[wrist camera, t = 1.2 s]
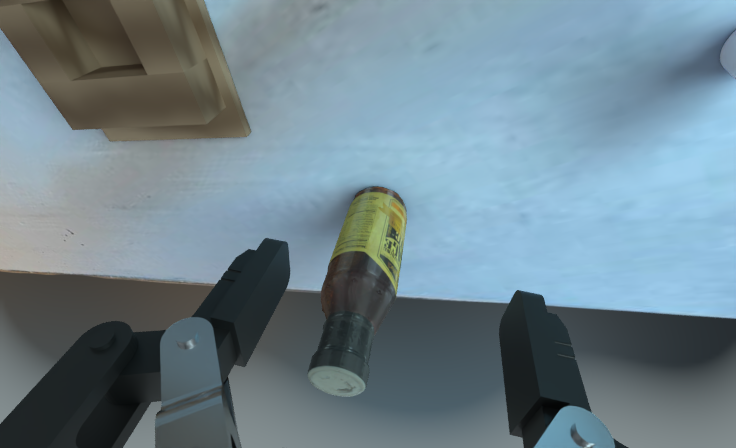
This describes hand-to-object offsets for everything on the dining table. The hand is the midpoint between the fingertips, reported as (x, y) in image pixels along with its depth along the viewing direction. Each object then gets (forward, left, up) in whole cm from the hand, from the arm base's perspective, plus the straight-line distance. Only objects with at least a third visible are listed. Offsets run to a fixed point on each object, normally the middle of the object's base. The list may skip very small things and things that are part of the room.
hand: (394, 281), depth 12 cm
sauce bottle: (+14, -5, -22) cm, 26 cm away
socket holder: (-5, -25, -22) cm, 33 cm away
